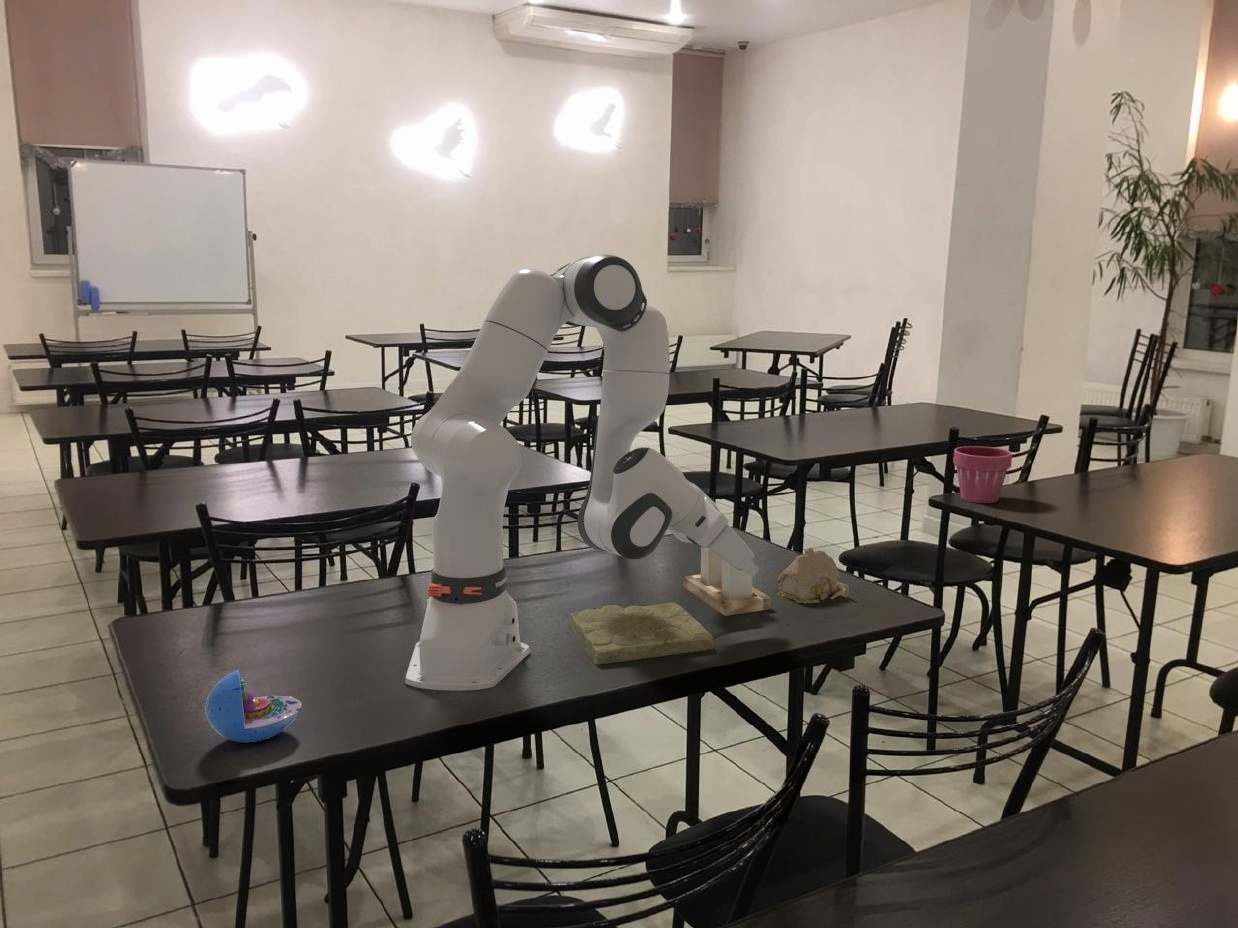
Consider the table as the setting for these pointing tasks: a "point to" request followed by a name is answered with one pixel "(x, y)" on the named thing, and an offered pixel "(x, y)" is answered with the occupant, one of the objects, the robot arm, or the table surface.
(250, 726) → the cell model
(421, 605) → the table surface
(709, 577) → the white upright prism
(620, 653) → the decorative tile
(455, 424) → the robot arm
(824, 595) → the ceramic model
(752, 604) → the rack
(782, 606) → the table surface
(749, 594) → the white rectangular block
